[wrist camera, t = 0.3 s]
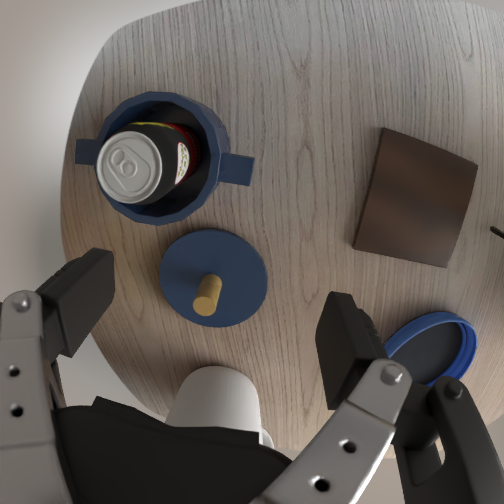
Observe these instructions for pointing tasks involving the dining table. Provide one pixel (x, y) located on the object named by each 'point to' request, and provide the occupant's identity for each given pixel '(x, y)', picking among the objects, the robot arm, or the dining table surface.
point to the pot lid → (213, 278)
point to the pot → (204, 178)
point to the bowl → (434, 347)
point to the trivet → (414, 201)
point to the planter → (497, 231)
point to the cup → (218, 402)
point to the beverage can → (147, 161)
